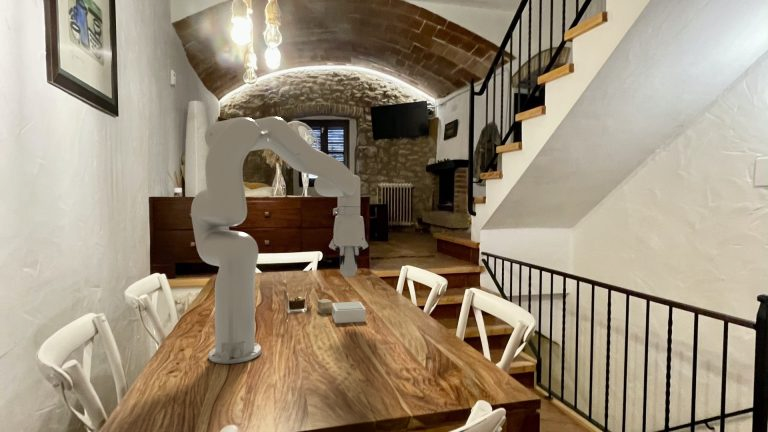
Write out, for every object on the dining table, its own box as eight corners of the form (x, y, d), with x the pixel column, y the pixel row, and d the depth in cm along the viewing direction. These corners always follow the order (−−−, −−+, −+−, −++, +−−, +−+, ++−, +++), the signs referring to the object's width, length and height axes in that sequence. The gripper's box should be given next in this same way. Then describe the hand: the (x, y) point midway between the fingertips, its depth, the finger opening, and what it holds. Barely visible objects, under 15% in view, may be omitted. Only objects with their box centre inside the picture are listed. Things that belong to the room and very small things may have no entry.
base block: (365, 321, 134) (365, 308, 133) (335, 323, 131) (335, 310, 131) (360, 312, 143) (360, 300, 143) (331, 314, 141) (331, 302, 141)
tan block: (332, 312, 144) (332, 301, 144) (322, 314, 142) (322, 302, 142) (327, 309, 147) (327, 299, 147) (317, 311, 145) (317, 300, 145)
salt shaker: (358, 274, 139) (358, 236, 139) (355, 277, 134) (356, 238, 133) (341, 273, 140) (341, 236, 139) (338, 277, 134) (338, 237, 134)
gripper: (325, 212, 130) (325, 269, 131) (375, 212, 134) (374, 267, 135) (323, 211, 137) (323, 265, 138) (370, 211, 141) (370, 264, 142)
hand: (348, 266), depth 137 cm, fingers closed on salt shaker, 3 cm apart
